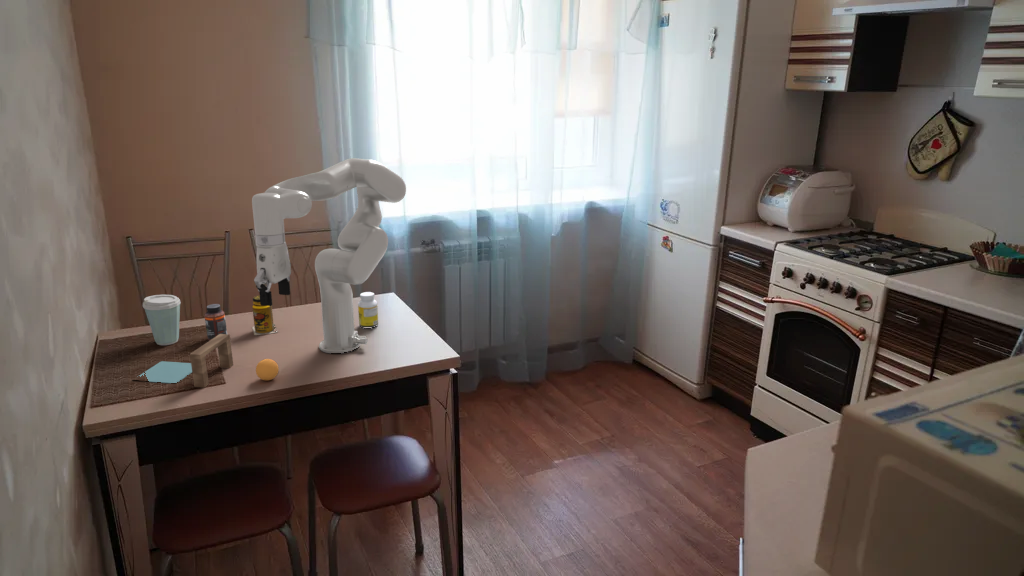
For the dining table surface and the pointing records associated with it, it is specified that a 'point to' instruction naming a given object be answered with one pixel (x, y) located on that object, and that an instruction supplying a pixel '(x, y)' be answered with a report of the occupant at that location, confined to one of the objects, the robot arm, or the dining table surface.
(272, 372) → the ball
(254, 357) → the dining table surface
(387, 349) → the dining table surface
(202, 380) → the bridge
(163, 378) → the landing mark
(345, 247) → the robot arm
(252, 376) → the dining table surface
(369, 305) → the pill bottle
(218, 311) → the supplement bottle
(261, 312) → the condiment
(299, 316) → the dining table surface
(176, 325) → the disposable coffee cup
